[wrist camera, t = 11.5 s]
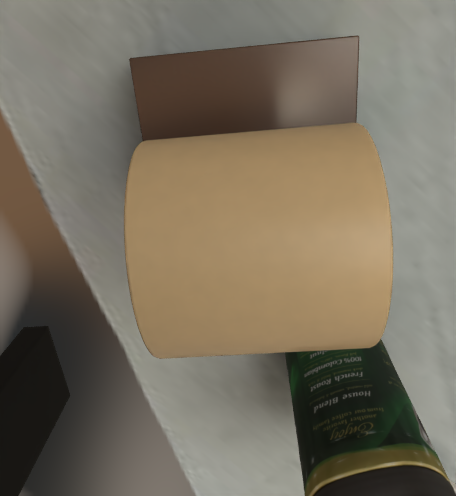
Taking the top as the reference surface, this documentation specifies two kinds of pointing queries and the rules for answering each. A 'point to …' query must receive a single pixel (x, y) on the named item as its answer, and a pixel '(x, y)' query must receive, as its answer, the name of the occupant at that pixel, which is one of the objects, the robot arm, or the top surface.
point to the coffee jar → (360, 427)
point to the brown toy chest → (247, 88)
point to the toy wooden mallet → (259, 242)
